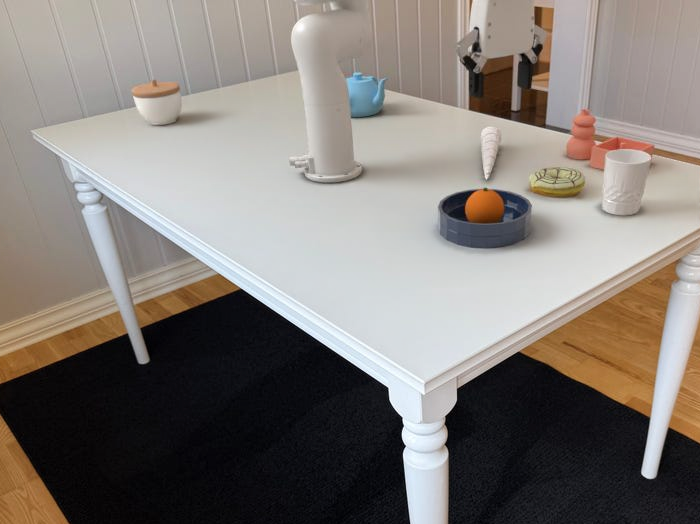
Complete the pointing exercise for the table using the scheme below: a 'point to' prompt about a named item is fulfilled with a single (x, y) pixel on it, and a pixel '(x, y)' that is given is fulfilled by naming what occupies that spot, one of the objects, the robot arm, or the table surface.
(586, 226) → the table surface
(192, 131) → the table surface
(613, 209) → the white cup
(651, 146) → the pottery
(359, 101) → the teapot
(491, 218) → the orange
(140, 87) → the lidded bowl
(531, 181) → the decorated donut
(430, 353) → the table surface
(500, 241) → the blue bowl
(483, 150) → the unicorn horn
